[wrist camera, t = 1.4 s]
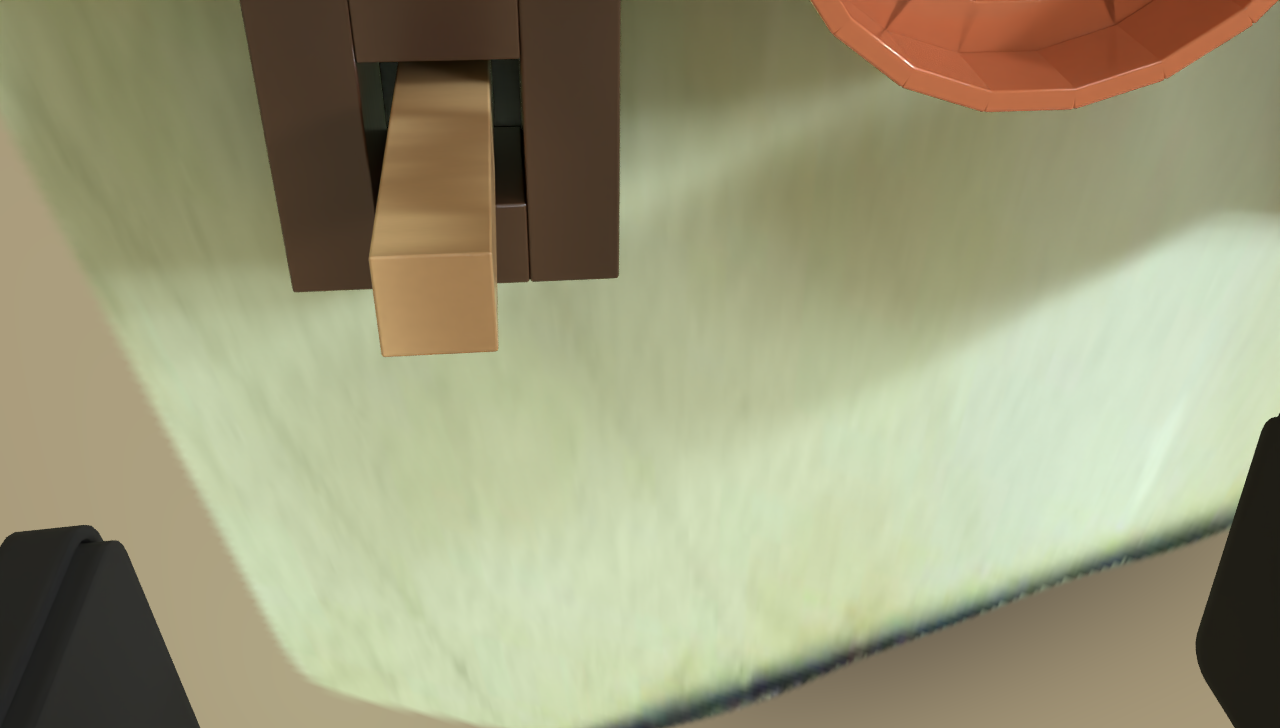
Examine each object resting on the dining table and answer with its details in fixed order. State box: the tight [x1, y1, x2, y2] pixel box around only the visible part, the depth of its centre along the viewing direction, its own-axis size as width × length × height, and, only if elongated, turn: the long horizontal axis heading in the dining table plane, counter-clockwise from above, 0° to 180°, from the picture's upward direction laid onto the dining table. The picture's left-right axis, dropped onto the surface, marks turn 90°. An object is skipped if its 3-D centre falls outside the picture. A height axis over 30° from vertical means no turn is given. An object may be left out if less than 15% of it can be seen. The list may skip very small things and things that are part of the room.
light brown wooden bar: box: [369, 59, 498, 357], centre depth 29 cm, size 2×2×13 cm
